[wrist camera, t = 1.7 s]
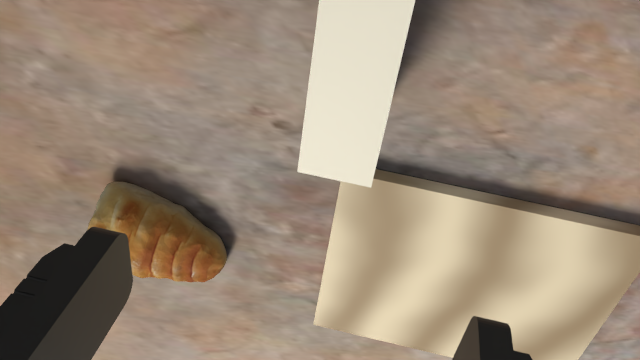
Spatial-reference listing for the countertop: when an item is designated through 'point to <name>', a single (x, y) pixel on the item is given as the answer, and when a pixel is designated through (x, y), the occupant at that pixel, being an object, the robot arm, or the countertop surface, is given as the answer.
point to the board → (470, 267)
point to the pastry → (160, 234)
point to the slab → (352, 86)
